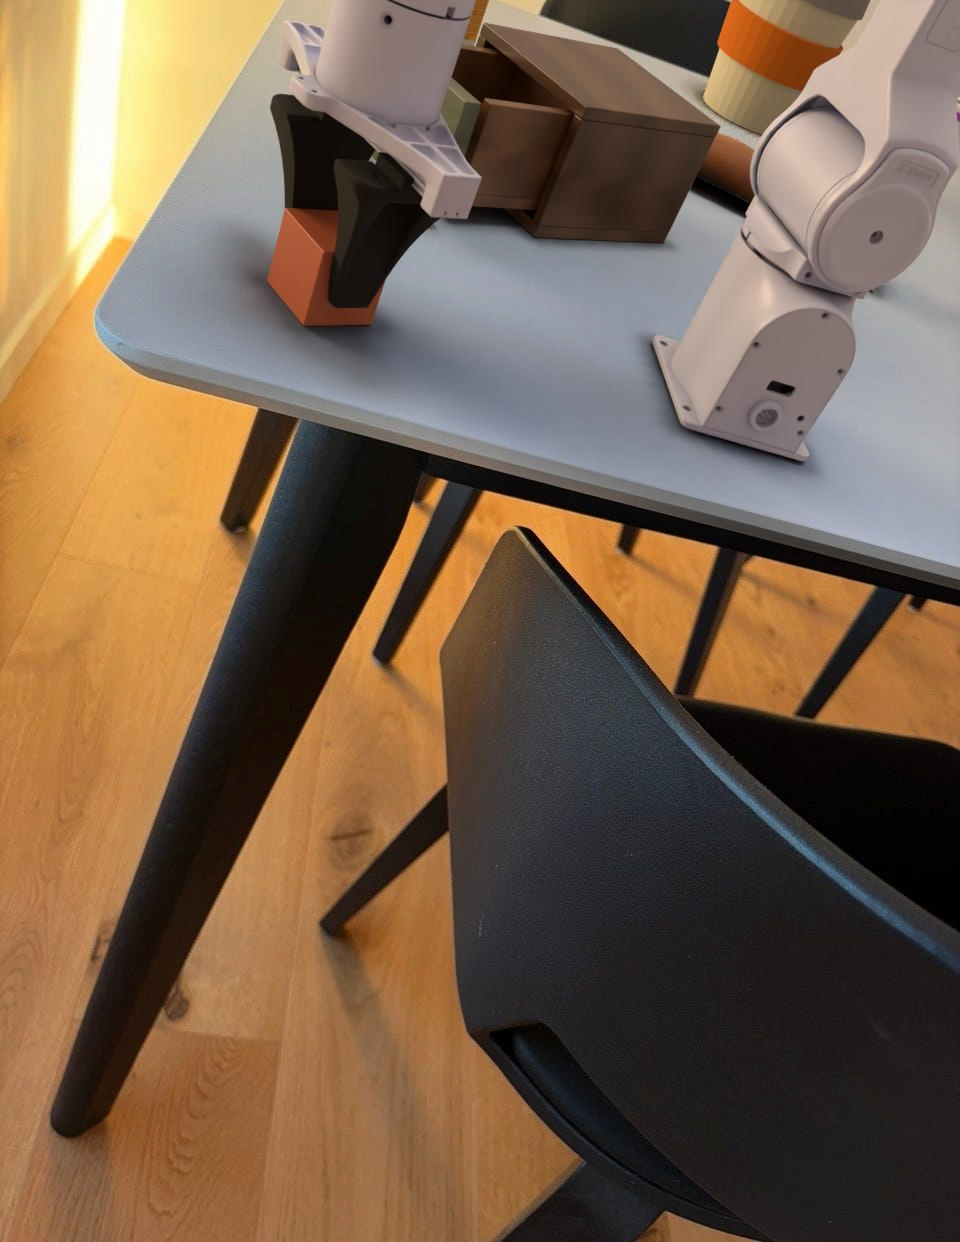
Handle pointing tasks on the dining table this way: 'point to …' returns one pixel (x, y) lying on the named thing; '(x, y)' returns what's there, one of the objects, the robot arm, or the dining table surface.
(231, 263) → the dining table surface
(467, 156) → the drawer
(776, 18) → the reusable coffee cup
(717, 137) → the sunglasses case
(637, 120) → the cabinet
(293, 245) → the block
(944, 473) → the dining table surface
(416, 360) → the dining table surface
